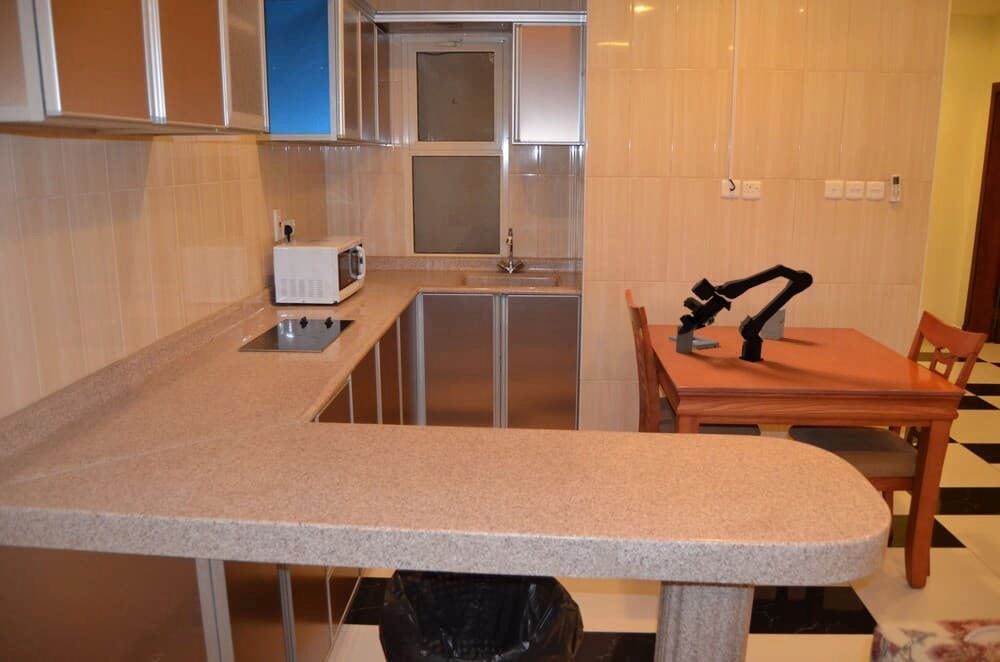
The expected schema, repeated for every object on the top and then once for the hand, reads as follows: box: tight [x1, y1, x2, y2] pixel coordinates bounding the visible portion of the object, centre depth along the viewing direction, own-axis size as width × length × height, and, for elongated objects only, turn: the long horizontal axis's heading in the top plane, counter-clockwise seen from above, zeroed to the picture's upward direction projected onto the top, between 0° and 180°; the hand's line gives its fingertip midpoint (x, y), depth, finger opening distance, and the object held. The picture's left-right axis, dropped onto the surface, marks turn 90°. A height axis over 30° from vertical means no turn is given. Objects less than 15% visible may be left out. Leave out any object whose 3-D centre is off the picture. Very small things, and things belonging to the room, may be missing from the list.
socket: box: [668, 334, 720, 350], centre depth 312 cm, size 16×12×2 cm
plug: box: [675, 324, 695, 355], centre depth 296 cm, size 4×4×12 cm
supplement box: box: [760, 307, 787, 341], centre depth 324 cm, size 7×7×13 cm
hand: (681, 333), depth 297 cm, fingers closed on plug, 4 cm apart
